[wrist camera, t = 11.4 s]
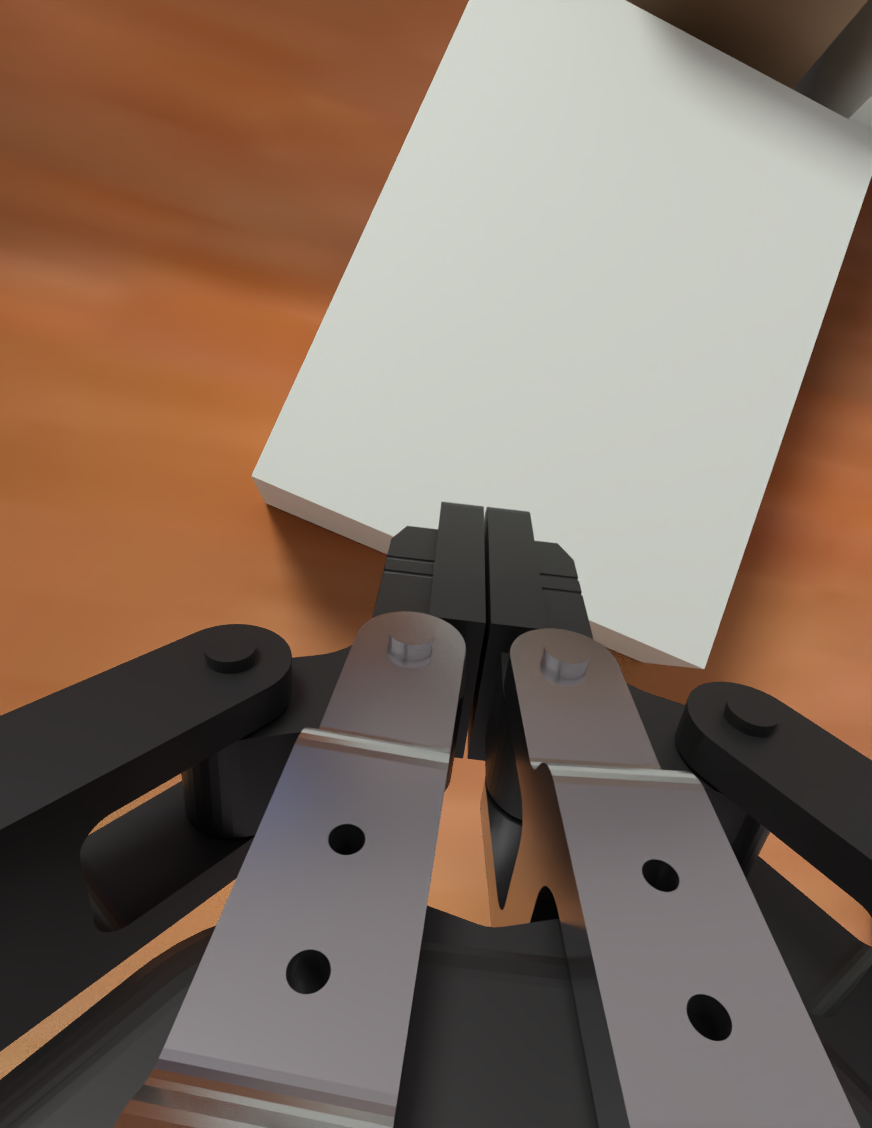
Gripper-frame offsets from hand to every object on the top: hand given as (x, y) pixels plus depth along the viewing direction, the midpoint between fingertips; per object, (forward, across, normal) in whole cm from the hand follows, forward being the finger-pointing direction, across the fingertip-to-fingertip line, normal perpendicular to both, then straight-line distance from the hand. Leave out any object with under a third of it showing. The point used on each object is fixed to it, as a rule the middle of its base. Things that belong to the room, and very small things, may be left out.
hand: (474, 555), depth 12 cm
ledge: (+12, -2, -1) cm, 12 cm away
